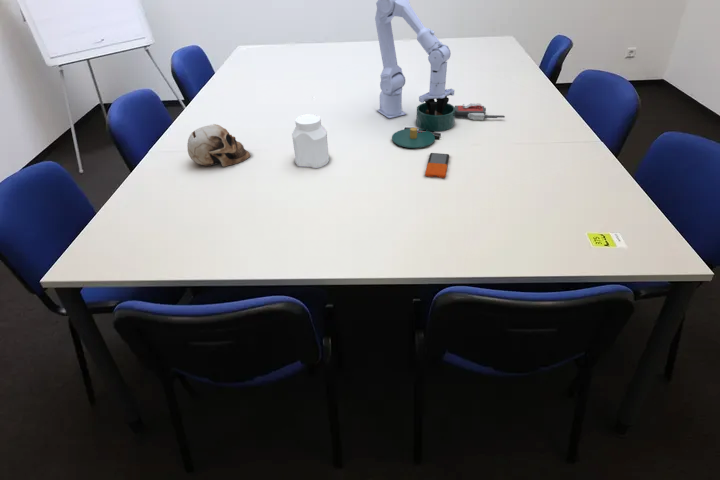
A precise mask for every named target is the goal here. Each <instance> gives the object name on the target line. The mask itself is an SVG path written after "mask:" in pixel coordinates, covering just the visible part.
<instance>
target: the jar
mask: <svg viewBox="0 0 720 480" xmlns="http://www.w3.org/2000/svg"><path fill="white" fill-rule="evenodd" d="M294 122H295V127H294V129H293V131H292V132H291V138H292V143H293V144H292V145H293V152H294V162H295V164H296V166H297V167H300V168H301V167H303V168H304V167H305V168H307V167H308V168H313V169H319V168H322V167H325V166H326V165H327V164H328V163H329V162H330V155H329V144H328V131H327V129H326V128H325V127H324V126H323V124H322V118H321V116H320V115H318V114H316V113H315V114H313V113H305V114H301V115H299V116H297V117H296V118H295V120H294Z"/></svg>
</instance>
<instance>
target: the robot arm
mask: <svg viewBox="0 0 720 480" xmlns="http://www.w3.org/2000/svg"><path fill="white" fill-rule="evenodd" d="M375 4H376V11H375V17H374V21H375V27H376V32H377V38H378V44H379V51H380V55H381V61H382V71H381V73H380V82H379V87H380V88H379V89H380V90H381V91H380V93H379V109H377V112H379V113H380V114H381V115H383V116H384V117H385V118H387V119H393V118H397V117H398V118H399V117H401V116H406V112H404V111H403V110H402V109H403V108H402V106H403V105H402V103H403V101H402V100H403V87H405V85H406V77H405V74H404V73H403V69H402V67H401V66H400V65H398V59H397V53H396V45H395V40H394V34H393V33H394V32H393V28H392V20H393V19H394V17H398V18H402V19H403V20H404V21H405V22H406V24H407V25H409V27H410V28H411V29H412V31H414V33H415V34H416V41H417V42H418V43H419V45H420V46H421V47H422V48H423V50H424V51H425V52H426V55H428V56H427V60H428V62H429V64H430V76H429V90H428V92H426V93H424V94H421V95H418V102H419V103H420V104H422V103H426V105H427V107H428V110H429V115H435V109H436V105H437V112H439V113H440V114H442V113H443V110H444V108H445V106H446V104H447V103H448V104H449V100H450V98H449V97H450V96H455V89H453V88H446V82H447V71H448V69H447V68H448V61H449V59H451V58H450V57H451V50H450V48H449V46H448V45H447V44H444V43H443V42H442V41H440V40H439V38H438V37H437V36H436V34H435V33H436V31H434V29H431V28H429V27H425V25H424V24H423V23H422V21H421V19H420V17H419V16H418V15H417V13H416V11H415V10H414V8H413V7H412V5H411V2H410V0H377V1H376V2H375Z"/></svg>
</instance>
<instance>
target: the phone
mask: <svg viewBox="0 0 720 480" xmlns="http://www.w3.org/2000/svg"><path fill="white" fill-rule="evenodd" d="M449 160H450V154H449V153H441V152H430V154H429V157H428V161H427V164H426V168H425V172H424V176H425V177H427V178H428V177H429V178H440V179H442V178H443V179H445V178H446V175H447V171H448V165H449Z"/></svg>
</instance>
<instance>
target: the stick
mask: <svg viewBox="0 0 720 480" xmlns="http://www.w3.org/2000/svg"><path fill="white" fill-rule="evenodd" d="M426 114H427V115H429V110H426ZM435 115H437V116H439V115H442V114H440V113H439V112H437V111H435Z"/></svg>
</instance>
